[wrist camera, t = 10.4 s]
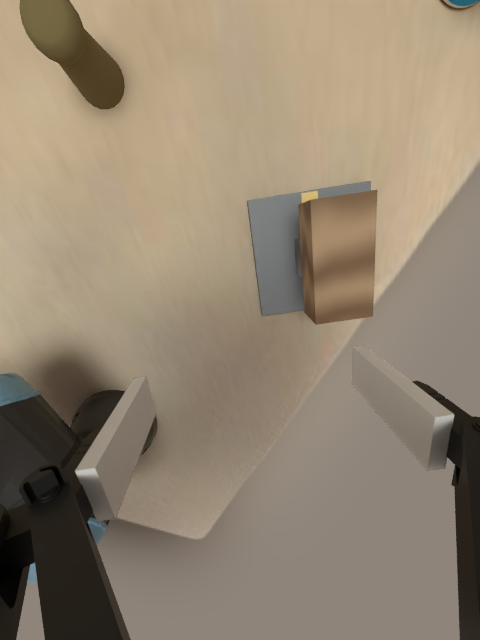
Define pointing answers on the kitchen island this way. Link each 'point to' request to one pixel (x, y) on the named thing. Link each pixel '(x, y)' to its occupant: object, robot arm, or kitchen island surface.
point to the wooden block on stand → (337, 256)
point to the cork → (73, 50)
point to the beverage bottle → (461, 3)
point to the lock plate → (283, 245)
